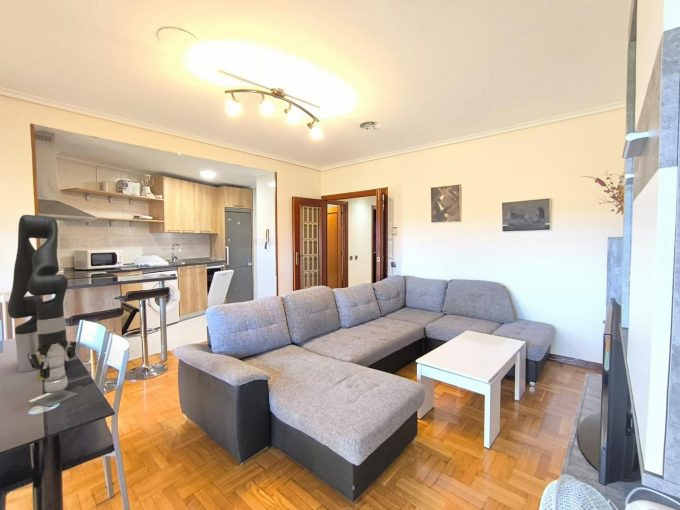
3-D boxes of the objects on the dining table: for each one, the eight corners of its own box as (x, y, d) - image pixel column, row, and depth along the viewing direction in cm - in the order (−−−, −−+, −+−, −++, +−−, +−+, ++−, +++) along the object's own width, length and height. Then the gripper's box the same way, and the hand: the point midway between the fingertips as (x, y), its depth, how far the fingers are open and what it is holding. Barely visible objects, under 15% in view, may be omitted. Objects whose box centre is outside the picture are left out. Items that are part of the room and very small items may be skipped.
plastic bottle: (48, 397, 108) (43, 342, 106) (41, 392, 111) (37, 339, 110) (71, 389, 113) (67, 337, 112) (64, 385, 117) (61, 334, 115)
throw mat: (28, 402, 110) (28, 400, 110) (58, 390, 119) (57, 388, 119) (49, 407, 107) (49, 406, 107) (78, 394, 115) (77, 393, 115)
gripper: (67, 323, 119) (70, 365, 120) (19, 334, 105) (23, 382, 106) (80, 324, 116) (83, 367, 117) (33, 336, 103) (37, 385, 104)
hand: (55, 374), depth 112 cm, fingers closed on plastic bottle, 5 cm apart
